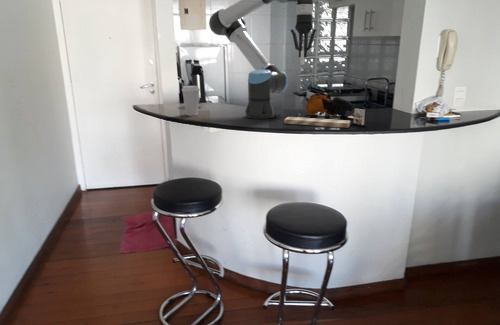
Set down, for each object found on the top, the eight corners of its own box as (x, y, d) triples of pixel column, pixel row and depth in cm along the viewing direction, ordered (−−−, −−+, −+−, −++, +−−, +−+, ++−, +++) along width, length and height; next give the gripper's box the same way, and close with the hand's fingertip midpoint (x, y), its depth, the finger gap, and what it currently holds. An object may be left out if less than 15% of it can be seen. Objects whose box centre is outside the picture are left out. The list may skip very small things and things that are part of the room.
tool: (340, 131, 199) (354, 105, 193) (301, 113, 202) (313, 86, 196) (342, 128, 206) (355, 102, 200) (303, 110, 210) (315, 84, 204)
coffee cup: (189, 116, 200) (187, 87, 196) (179, 114, 207) (177, 86, 203) (204, 114, 206) (203, 86, 202) (194, 112, 213) (193, 85, 209)
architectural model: (359, 126, 179) (361, 110, 176) (347, 124, 184) (348, 108, 181) (364, 125, 181) (365, 109, 179) (351, 123, 186) (352, 108, 184)
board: (284, 123, 184) (284, 119, 183) (288, 120, 190) (288, 116, 189) (348, 127, 174) (348, 123, 173) (350, 124, 180) (350, 120, 179)
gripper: (289, 14, 186) (288, 64, 193) (316, 13, 181) (313, 65, 188) (293, 15, 192) (291, 63, 199) (319, 14, 188) (316, 64, 195)
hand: (302, 64), depth 194 cm, fingers closed
